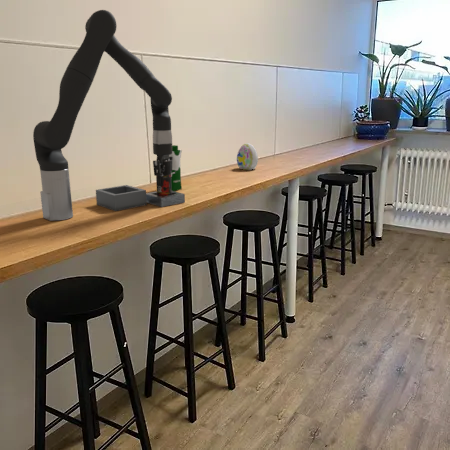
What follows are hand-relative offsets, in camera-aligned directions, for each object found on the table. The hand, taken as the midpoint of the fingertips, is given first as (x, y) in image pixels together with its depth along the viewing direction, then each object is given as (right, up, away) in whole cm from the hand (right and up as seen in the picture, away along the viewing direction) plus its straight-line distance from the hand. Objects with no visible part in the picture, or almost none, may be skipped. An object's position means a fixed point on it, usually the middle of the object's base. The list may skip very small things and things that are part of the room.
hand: (163, 184), depth 180 cm
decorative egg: (+37, +16, +83) cm, 92 cm away
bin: (-16, -8, -2) cm, 18 cm away
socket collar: (0, -7, +2) cm, 7 cm away
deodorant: (0, -6, +2) cm, 6 cm away
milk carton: (0, 0, +26) cm, 26 cm away
